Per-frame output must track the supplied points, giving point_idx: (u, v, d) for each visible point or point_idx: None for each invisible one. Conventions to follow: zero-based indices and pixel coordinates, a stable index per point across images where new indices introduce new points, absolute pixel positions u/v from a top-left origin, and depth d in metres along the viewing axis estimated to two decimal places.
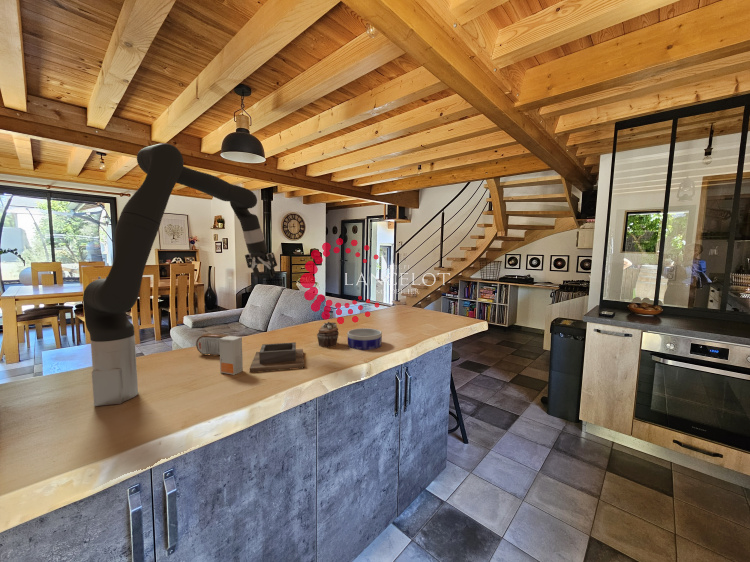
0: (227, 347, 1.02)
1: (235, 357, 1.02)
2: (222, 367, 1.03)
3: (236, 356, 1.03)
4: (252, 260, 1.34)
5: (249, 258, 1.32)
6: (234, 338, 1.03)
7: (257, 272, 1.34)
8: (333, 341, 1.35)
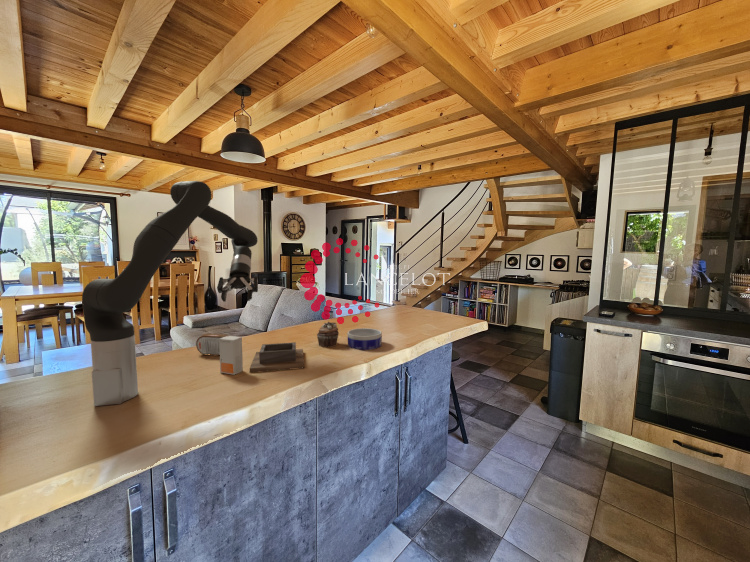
0: (227, 347, 1.02)
1: (235, 357, 1.02)
2: (222, 367, 1.03)
3: (236, 355, 1.03)
4: (222, 287, 1.19)
5: (223, 281, 1.19)
6: (234, 338, 1.03)
7: (225, 296, 1.15)
8: (333, 341, 1.35)
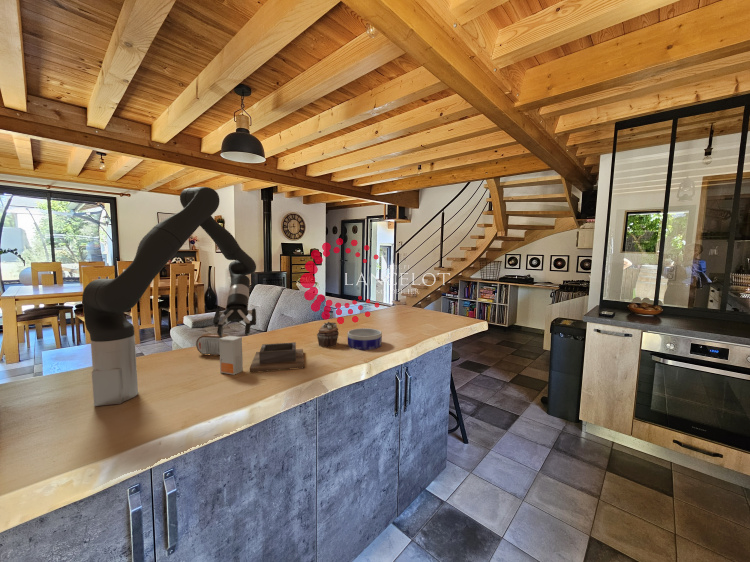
0: (227, 347, 1.02)
1: (235, 357, 1.02)
2: (222, 367, 1.03)
3: (236, 355, 1.03)
4: None
5: (220, 314, 1.13)
6: (234, 338, 1.03)
7: (222, 331, 1.09)
8: (333, 341, 1.35)
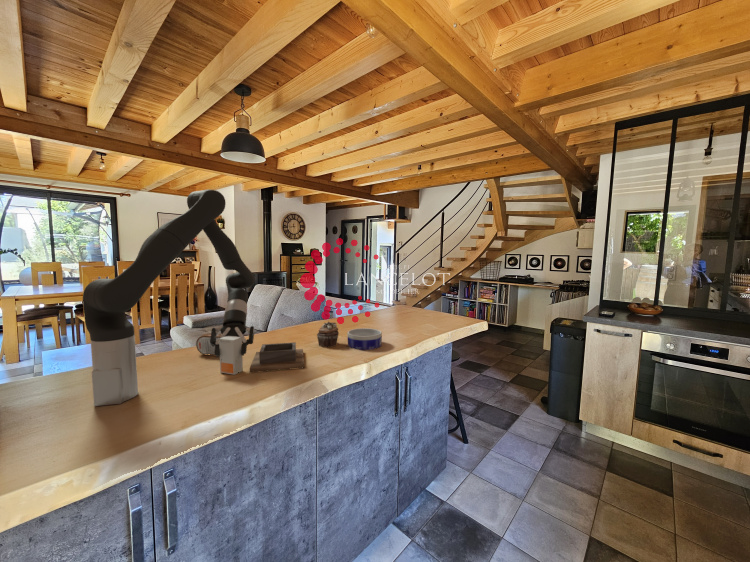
0: (226, 347, 1.02)
1: (235, 357, 1.02)
2: (222, 367, 1.03)
3: (236, 355, 1.03)
4: (215, 339, 1.07)
5: (216, 332, 1.07)
6: (234, 338, 1.03)
7: (219, 351, 1.03)
8: (333, 341, 1.35)
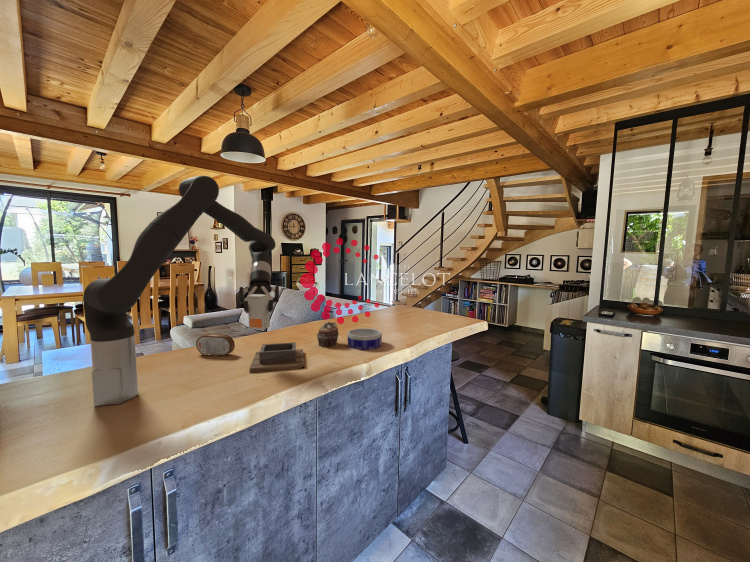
0: (255, 303, 1.07)
1: (263, 313, 1.08)
2: (251, 323, 1.09)
3: (264, 311, 1.08)
4: (243, 297, 1.12)
5: (244, 291, 1.12)
6: (262, 295, 1.08)
7: None
8: (333, 341, 1.35)
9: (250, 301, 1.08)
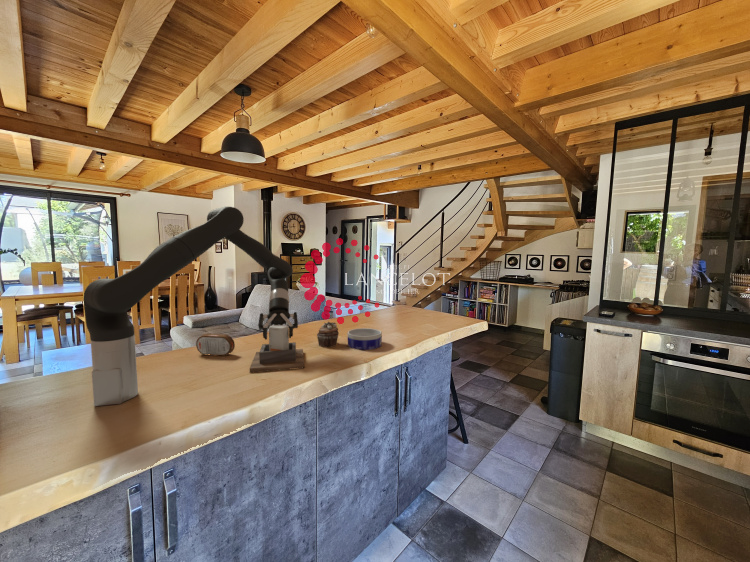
0: (276, 334, 1.13)
1: (283, 343, 1.13)
2: None
3: (284, 342, 1.13)
4: (262, 323, 1.17)
5: (264, 317, 1.17)
6: (282, 326, 1.14)
7: None
8: (333, 341, 1.35)
9: (271, 332, 1.13)
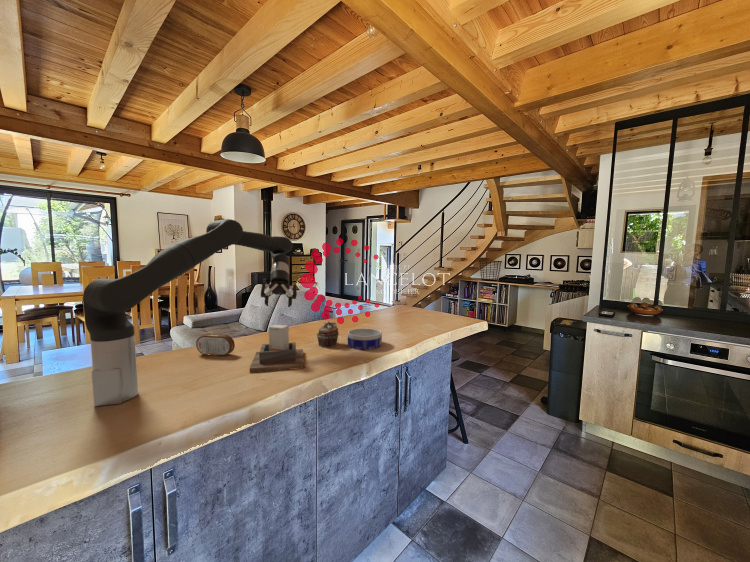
0: (276, 334, 1.13)
1: (283, 343, 1.13)
2: None
3: (284, 342, 1.13)
4: None
5: (266, 286, 1.28)
6: (282, 326, 1.14)
7: None
8: (333, 341, 1.35)
9: (271, 332, 1.13)
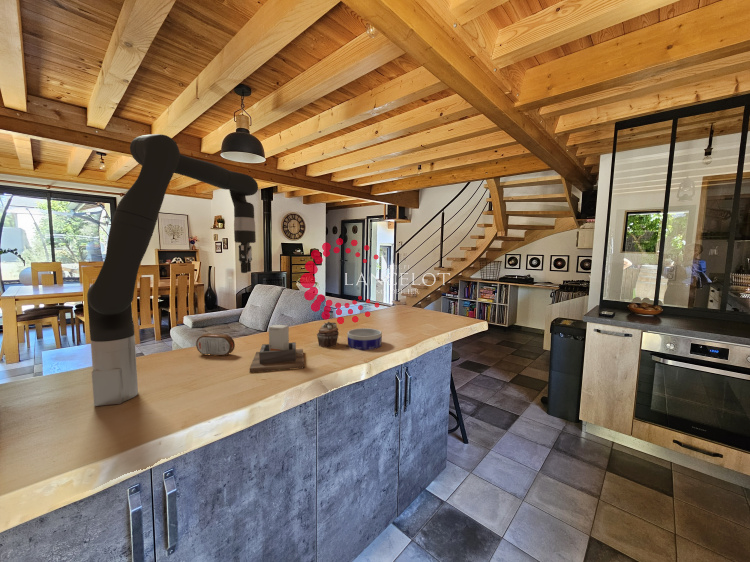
0: (276, 334, 1.13)
1: (283, 343, 1.13)
2: None
3: (284, 342, 1.13)
4: None
5: None
6: (282, 326, 1.14)
7: None
8: (333, 341, 1.35)
9: (271, 332, 1.13)
